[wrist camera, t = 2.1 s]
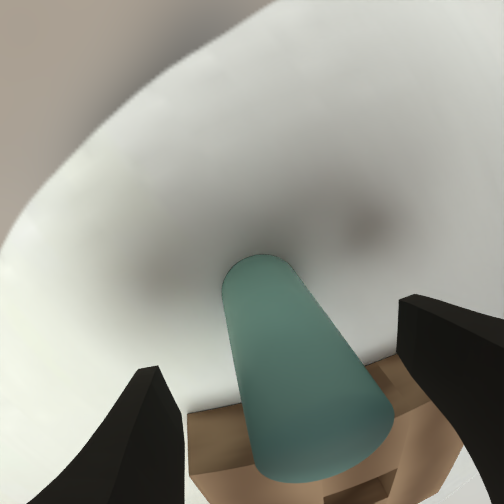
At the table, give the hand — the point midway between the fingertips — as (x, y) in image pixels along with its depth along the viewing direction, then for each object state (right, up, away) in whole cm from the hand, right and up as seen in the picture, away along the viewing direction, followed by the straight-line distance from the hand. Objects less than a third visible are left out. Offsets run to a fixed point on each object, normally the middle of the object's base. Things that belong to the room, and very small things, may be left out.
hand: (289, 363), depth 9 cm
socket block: (+5, -11, +10) cm, 15 cm away
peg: (-1, +1, +5) cm, 5 cm away
